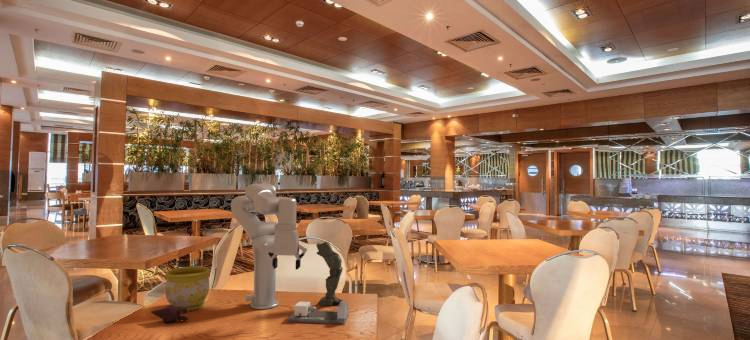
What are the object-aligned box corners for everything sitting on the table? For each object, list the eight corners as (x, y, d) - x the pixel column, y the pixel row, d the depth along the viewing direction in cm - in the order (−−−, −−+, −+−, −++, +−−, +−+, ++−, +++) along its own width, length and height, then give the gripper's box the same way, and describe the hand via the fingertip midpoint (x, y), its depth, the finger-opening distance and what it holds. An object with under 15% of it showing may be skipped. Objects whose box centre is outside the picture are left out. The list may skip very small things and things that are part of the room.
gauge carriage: (293, 317, 156) (293, 307, 156) (298, 310, 164) (299, 301, 164) (312, 318, 155) (312, 308, 156) (317, 311, 163) (317, 302, 163)
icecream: (144, 309, 151) (182, 313, 151) (156, 299, 158) (192, 302, 158) (145, 325, 152) (183, 328, 152) (156, 314, 160) (192, 317, 160)
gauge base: (288, 321, 156) (288, 305, 156) (295, 313, 166) (295, 298, 166) (344, 324, 154) (344, 307, 154) (348, 315, 164) (348, 300, 164)
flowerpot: (216, 301, 182) (216, 266, 182) (197, 314, 164) (198, 275, 164) (178, 300, 182) (179, 265, 183) (155, 313, 164) (156, 275, 165)
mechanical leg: (351, 300, 182) (337, 237, 184) (349, 304, 175) (334, 240, 177) (323, 305, 184) (309, 244, 185) (320, 310, 177) (305, 246, 178)
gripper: (263, 228, 160) (263, 269, 159) (304, 229, 158) (304, 271, 158) (270, 226, 167) (269, 265, 167) (309, 226, 166) (308, 267, 165)
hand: (286, 268), depth 162 cm, fingers open, 9 cm apart
